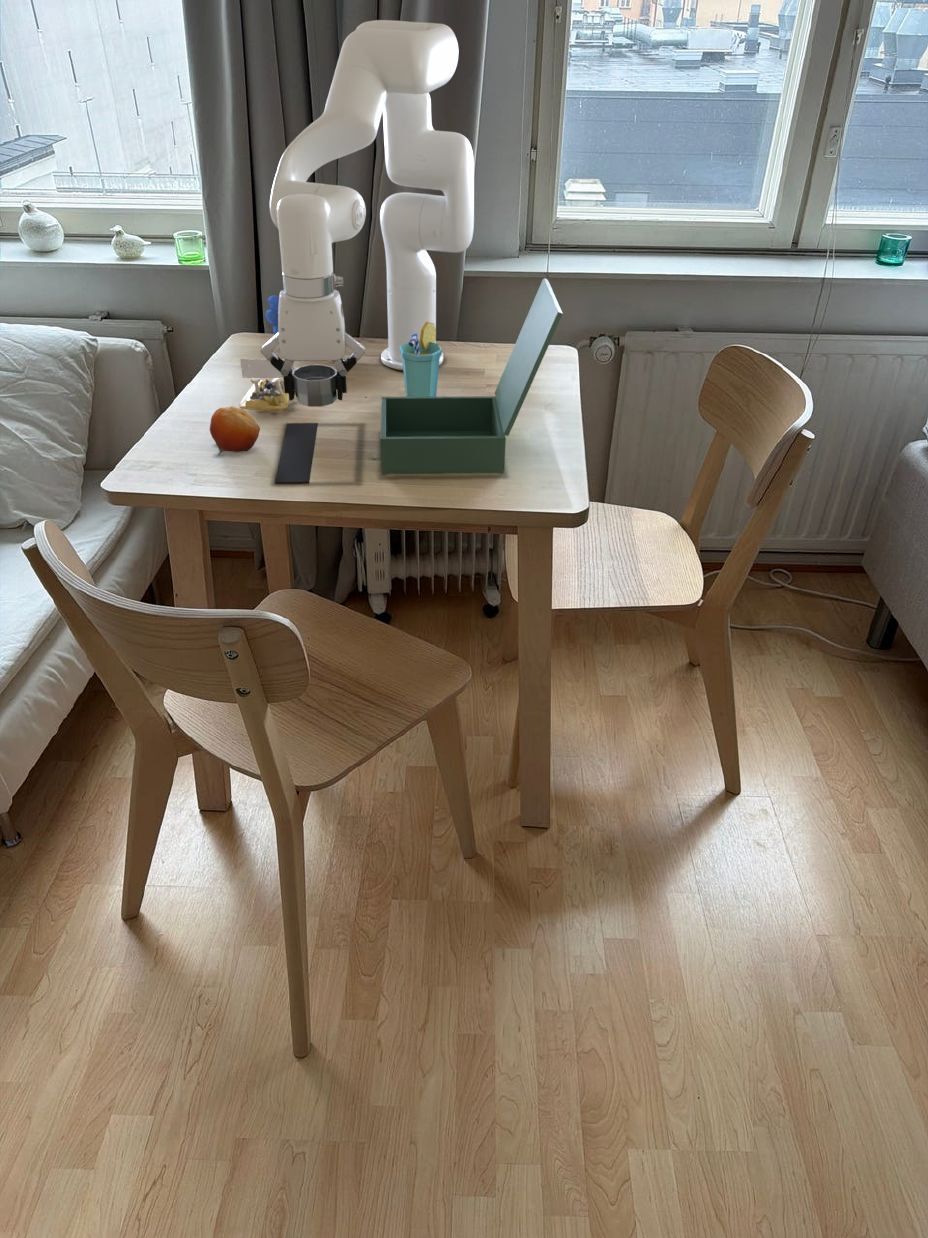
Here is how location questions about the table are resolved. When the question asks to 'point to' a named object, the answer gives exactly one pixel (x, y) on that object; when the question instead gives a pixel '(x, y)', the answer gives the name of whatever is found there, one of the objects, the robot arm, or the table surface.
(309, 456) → the mat
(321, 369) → the bowl
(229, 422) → the fruit
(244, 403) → the cake
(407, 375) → the cup
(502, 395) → the lid
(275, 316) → the blue flower
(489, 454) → the open green box
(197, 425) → the table surface
